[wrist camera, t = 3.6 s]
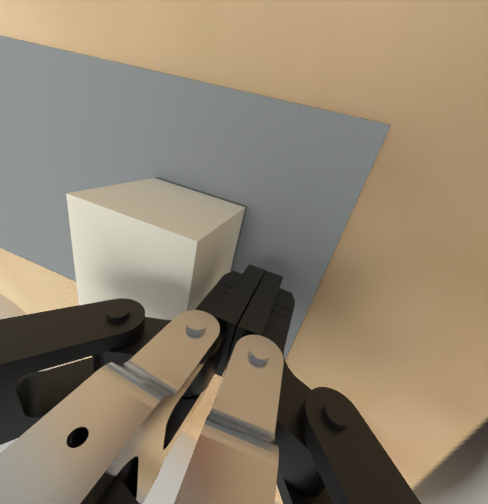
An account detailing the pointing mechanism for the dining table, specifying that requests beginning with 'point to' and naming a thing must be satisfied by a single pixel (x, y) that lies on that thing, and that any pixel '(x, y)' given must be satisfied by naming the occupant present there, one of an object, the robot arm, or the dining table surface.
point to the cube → (152, 244)
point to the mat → (175, 158)
